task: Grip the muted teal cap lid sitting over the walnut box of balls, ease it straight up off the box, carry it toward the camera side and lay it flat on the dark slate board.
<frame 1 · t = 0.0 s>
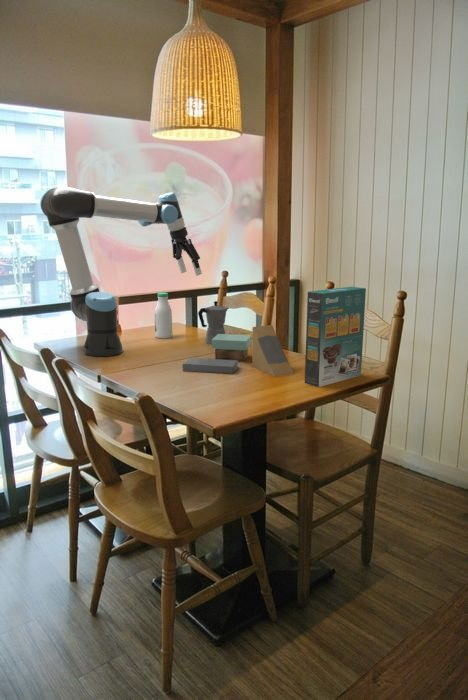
hand: (191, 273, 257), 28 cm above the table, tool tilted 20°, fingers open, 13 cm apart
crate: (231, 357, 217), on the table
cake mix box: (333, 379, 189), on the table
milk bottle: (163, 337, 255), on the table
ball b: (237, 355, 217), point 1 cm above the table, touching crate
sandwich container: (272, 371, 200), on the table
ball a: (226, 355, 218), point 1 cm above the table, touching crate
lid: (231, 346, 216), point 4 cm above the table, touching crate
coffeepot: (213, 343, 244), on the table
board: (210, 368, 201), on the table
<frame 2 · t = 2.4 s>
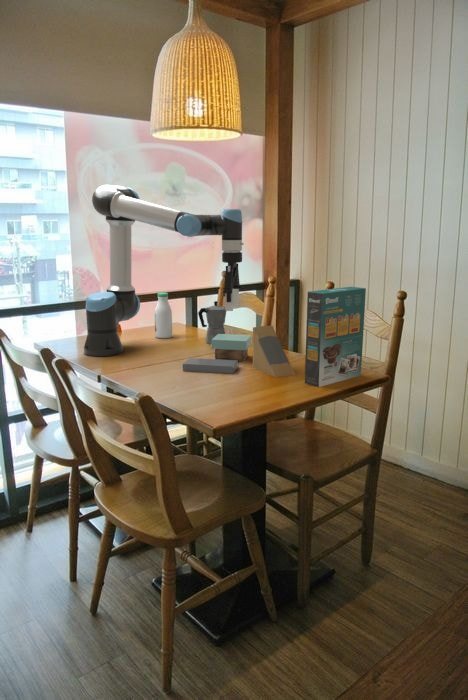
hand: (232, 308, 215), 19 cm above the table, tool pointing down, fingers open, 13 cm apart
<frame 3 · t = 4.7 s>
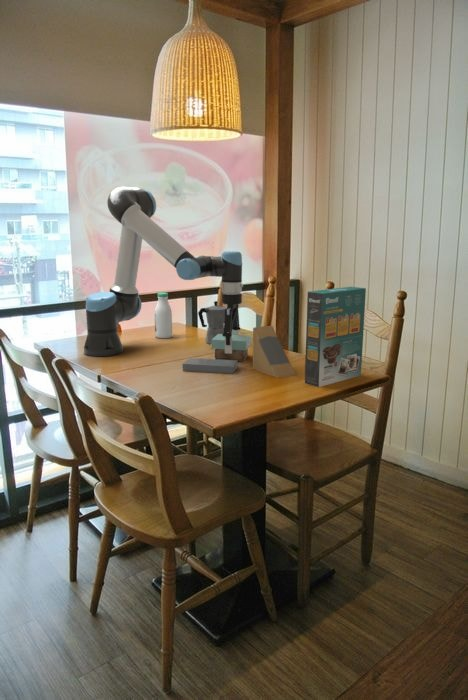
hand: (231, 349, 217), 3 cm above the table, tool pointing down, fingers closed on lid, 11 cm apart
lid: (231, 346, 216), point 5 cm above the table, touching crate, gripper
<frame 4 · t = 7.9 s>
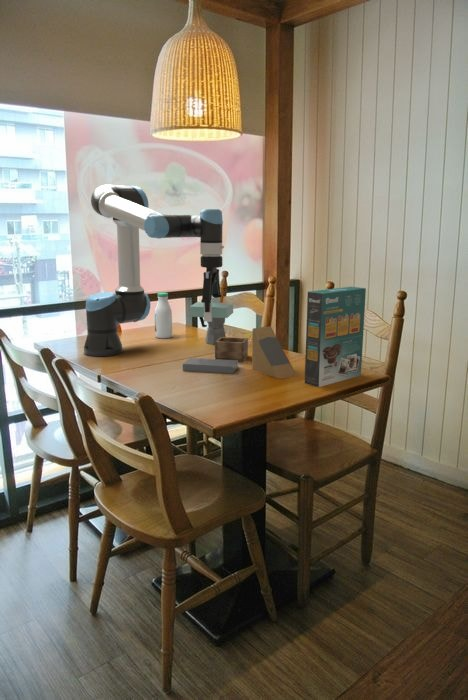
hand: (211, 318, 198), 18 cm above the table, tool pointing down, fingers closed on lid, 11 cm apart
sandwich container: (274, 373, 197), on the table
lid: (211, 314, 198), point 19 cm above the table, touching gripper
everything else where it was.
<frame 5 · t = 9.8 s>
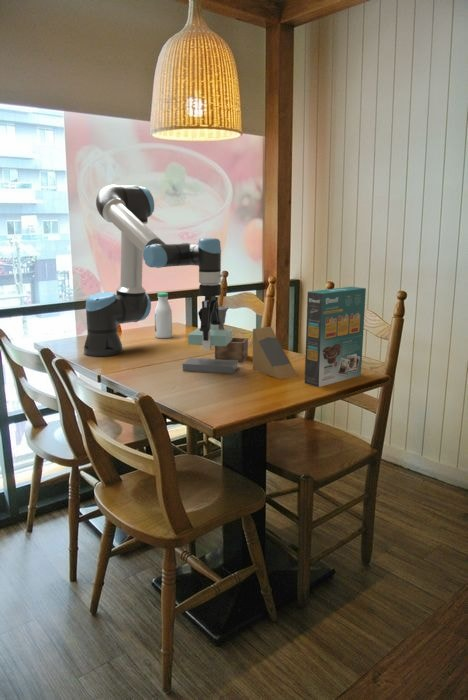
hand: (210, 345, 199), 8 cm above the table, tool pointing down, fingers closed on lid, 11 cm apart
lid: (210, 342, 199), point 10 cm above the table, touching gripper
when the fingers open (3 cm above the table, at t = 11.5 s): lid drops 2 cm, resting on board.
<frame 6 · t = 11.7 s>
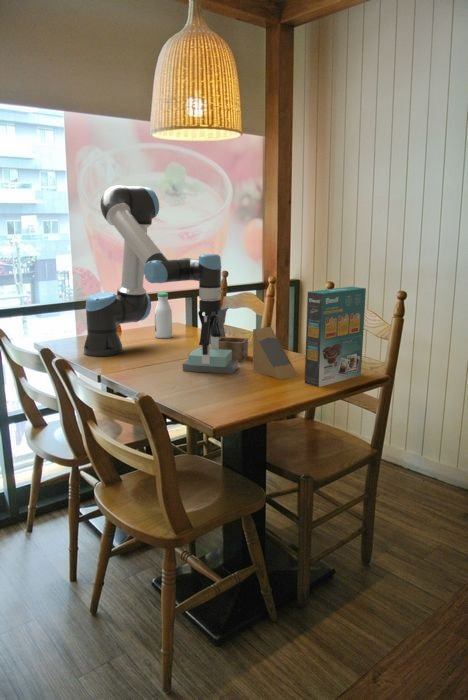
hand: (210, 358, 200), 4 cm above the table, tool pointing down, fingers open, 13 cm apart
lid: (210, 362, 200), point 2 cm above the table, touching board
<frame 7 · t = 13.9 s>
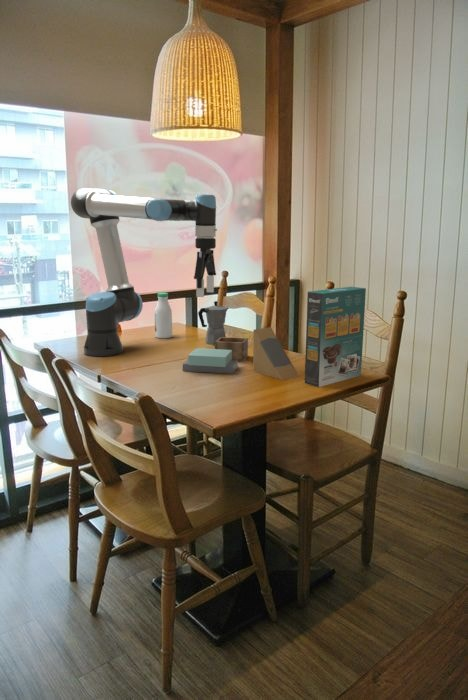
hand: (205, 294, 214), 24 cm above the table, tool pointing down, fingers open, 13 cm apart
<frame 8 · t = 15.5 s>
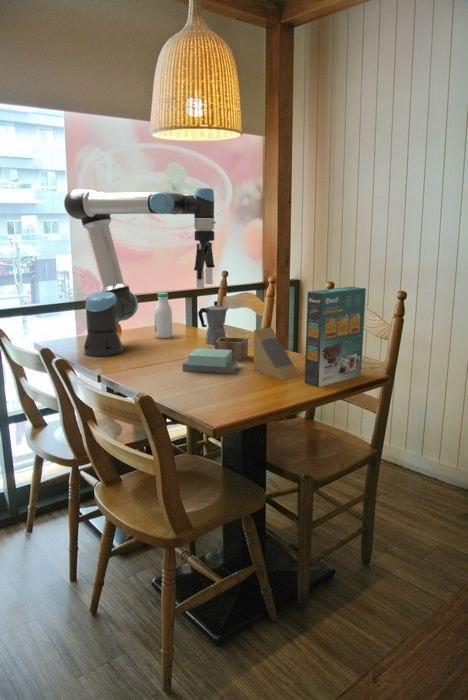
hand: (204, 286, 219), 27 cm above the table, tool pointing down, fingers open, 13 cm apart
at the end: lid inside the target area on the board (0.0 cm from its centre), point 2.5 cm above the board's base; lid tilted 0°; the gripper is holding nothing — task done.
